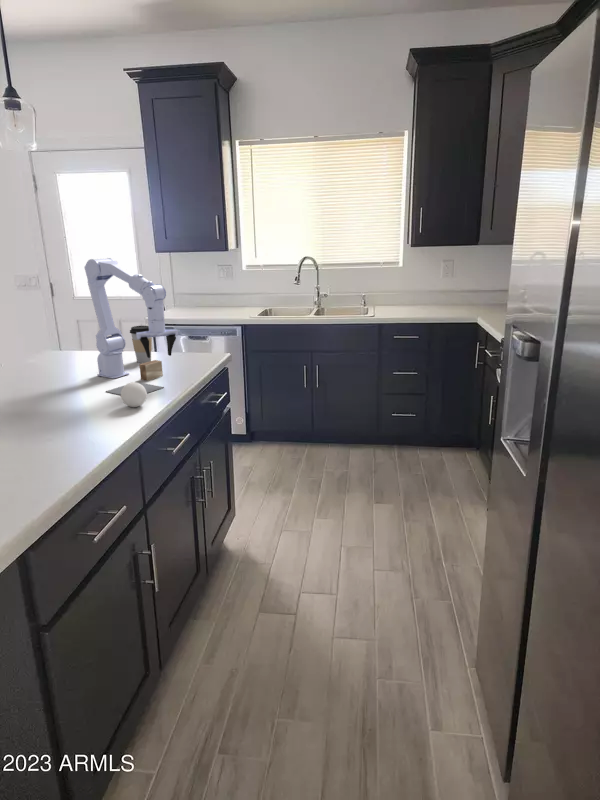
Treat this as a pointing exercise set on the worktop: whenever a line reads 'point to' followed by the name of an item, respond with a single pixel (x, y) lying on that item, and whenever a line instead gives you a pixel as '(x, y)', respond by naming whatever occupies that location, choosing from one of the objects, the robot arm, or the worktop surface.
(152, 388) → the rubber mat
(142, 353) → the coffee cup
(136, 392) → the ball
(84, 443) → the worktop surface
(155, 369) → the brown wooden block
